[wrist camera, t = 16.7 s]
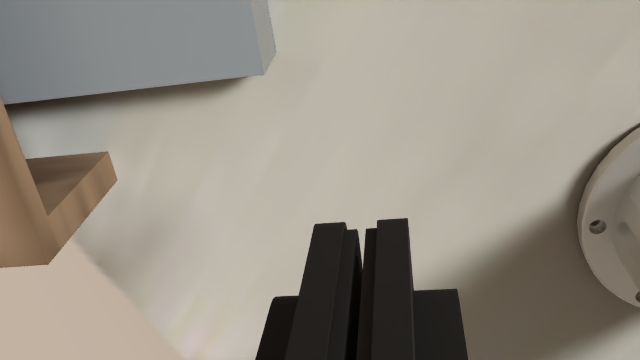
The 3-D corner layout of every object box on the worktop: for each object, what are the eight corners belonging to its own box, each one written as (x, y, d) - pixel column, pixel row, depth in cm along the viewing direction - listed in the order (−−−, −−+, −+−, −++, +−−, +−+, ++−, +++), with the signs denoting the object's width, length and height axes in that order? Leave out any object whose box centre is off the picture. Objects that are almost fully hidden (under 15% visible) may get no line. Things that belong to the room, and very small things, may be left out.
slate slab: (258, -55, 29) (241, -43, 25) (277, 49, 31) (264, 74, 27) (-49, -10, 31) (-104, 7, 27) (-11, 84, 33) (-57, 111, 30)
